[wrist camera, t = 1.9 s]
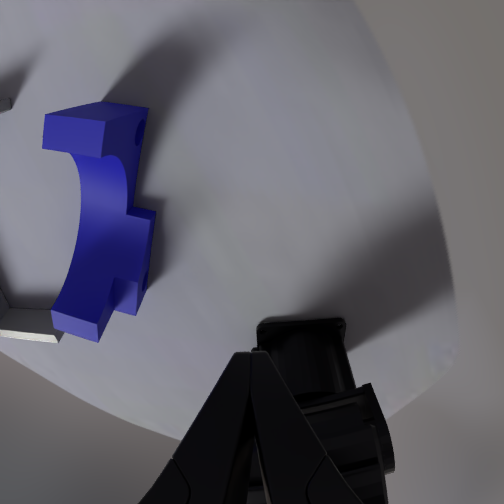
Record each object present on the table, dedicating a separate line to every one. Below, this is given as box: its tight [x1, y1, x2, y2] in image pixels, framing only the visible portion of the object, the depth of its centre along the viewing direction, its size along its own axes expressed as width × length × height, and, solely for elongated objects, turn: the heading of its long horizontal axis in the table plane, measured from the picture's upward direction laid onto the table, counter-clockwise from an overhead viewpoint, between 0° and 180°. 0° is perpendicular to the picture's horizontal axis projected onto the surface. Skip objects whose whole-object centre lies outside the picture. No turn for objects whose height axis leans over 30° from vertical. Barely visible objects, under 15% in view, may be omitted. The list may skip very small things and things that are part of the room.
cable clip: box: [42, 101, 156, 343], centre depth 16 cm, size 12×4×6 cm, turn 165°
